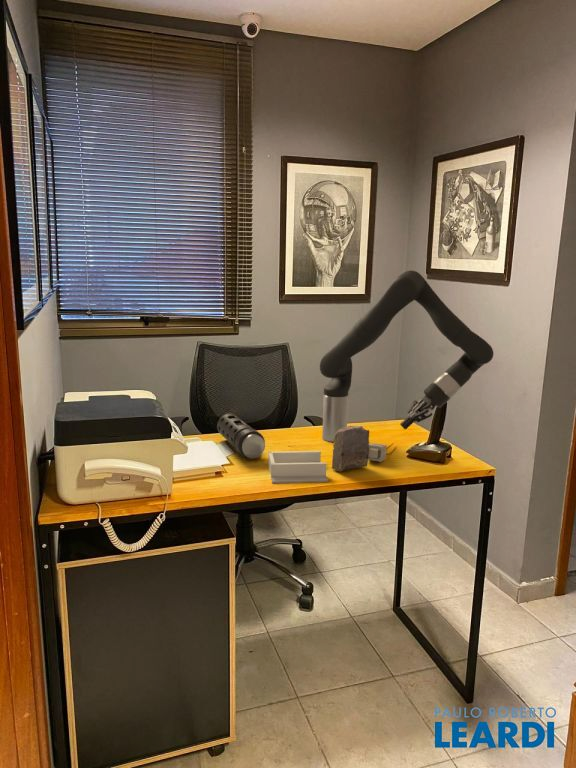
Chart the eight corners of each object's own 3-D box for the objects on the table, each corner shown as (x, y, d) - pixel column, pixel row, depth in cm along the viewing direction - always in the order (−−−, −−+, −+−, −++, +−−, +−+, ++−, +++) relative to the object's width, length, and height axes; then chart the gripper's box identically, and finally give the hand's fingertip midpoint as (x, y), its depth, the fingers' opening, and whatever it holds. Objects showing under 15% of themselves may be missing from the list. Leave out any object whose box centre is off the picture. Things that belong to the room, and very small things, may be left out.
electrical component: (380, 452, 214) (382, 439, 214) (396, 455, 211) (398, 441, 211) (364, 459, 192) (365, 444, 192) (381, 462, 189) (383, 447, 189)
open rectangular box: (268, 464, 189) (268, 451, 188) (319, 463, 191) (320, 450, 190) (272, 483, 173) (272, 469, 172) (328, 482, 175) (328, 468, 174)
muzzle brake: (240, 438, 218) (240, 411, 216) (267, 461, 193) (267, 431, 191) (216, 440, 214) (216, 413, 212) (240, 464, 189) (240, 434, 187)
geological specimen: (358, 464, 191) (360, 421, 188) (369, 470, 186) (371, 425, 182) (331, 469, 186) (332, 425, 182) (341, 475, 180) (343, 429, 177)
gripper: (427, 377, 189) (389, 414, 190) (442, 386, 176) (401, 424, 177) (441, 393, 191) (403, 429, 192) (457, 402, 178) (416, 441, 179)
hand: (402, 427), depth 184 cm, fingers closed
